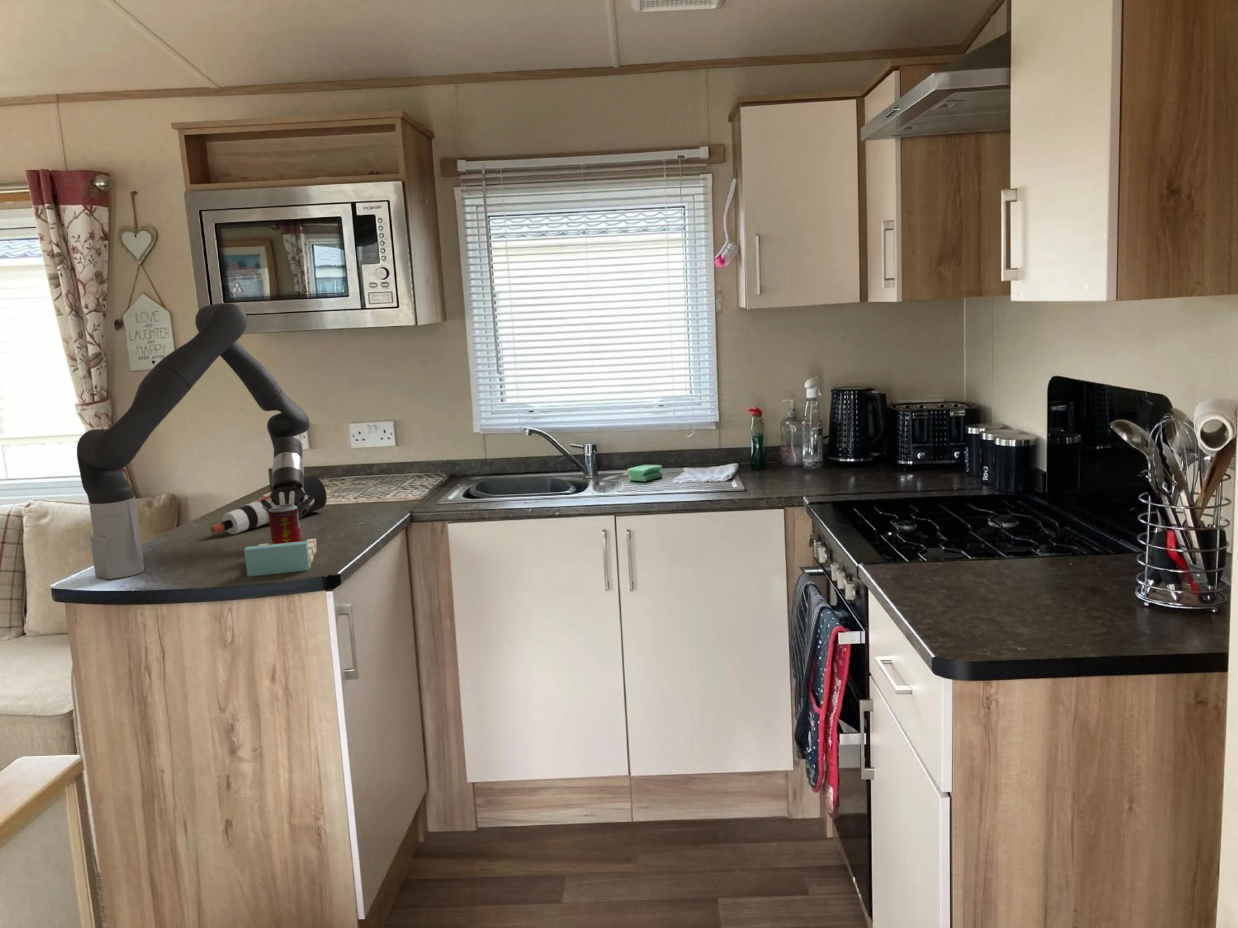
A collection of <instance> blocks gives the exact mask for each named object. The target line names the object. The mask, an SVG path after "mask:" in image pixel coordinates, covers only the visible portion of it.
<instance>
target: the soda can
mask: <svg viewBox="0 0 1238 928" xmlns="http://www.w3.org/2000/svg"><path fill="white" fill-rule="evenodd" d="M268 514H269V521H270V523H269V528H270V529H269V530H270V537H271V544H281V543H291V542H301V541H302V535H301V534H302V533H301V525H300V518H299V515H298V508H297V506H295V505H293V504H282V505H277V506H273V507H272V508H271V509H269V511H268Z"/></svg>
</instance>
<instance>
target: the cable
mask: <svg viewBox="0 0 1238 928" xmlns="http://www.w3.org/2000/svg"><path fill="white" fill-rule="evenodd" d="M304 491H305V493H306V495H308V496H313V498H314V504H313V506H312V507H311V508H310V509H309V510H308V511H307V512H306V513H305V514H304V516H306V515H308V514H311V513H313V512H315V511H318V510H320V509H323V508H324V507H325V506H326V504H327V496H328V495H327V491H326V488H325V485H324V484H323V482H322V481H321V480H320V478H318V477H316V476H315V475H313V474H311V475H307V476H304ZM269 498H270V495H267V496H264V497H262V498H259V499H256V500H254V501H253V502H251V503H248V504H244V506H243V505H242V506H241V507H237V508H236V509H233V510H231V511H228V512H225V513H224V514H223V516H222V521H221V522H220V523H218V524H217V523H216V524H214V525H212V526H210V527H209V529H210V533H212V534H213V535H215V534H219V533H221V532H227V533H229V534H230V535H236V534H239V533H242V532H244V531H245V532H246V531H249V530H251V529H254V528H257V527H260V526H264V525H268V524H270V521H269V514H268V512H267V511H266V510H264V509H263V506H262V503H261V501H262V500H267V499H269ZM303 502H304V501H302V502H301V504H302V503H303ZM301 504H300V505H301ZM272 505H273V506H276V505H275V504H274V503H273V502H272ZM300 505H299V506H298V507H297V508H299V507H300Z"/></svg>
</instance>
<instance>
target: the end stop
mask: <svg viewBox="0 0 1238 928" xmlns="http://www.w3.org/2000/svg"><path fill="white" fill-rule="evenodd" d="M244 559H245V560H244V561H245V568H246V575H247V577H257V576H267V575H276V574H285V573H295V572H303V571H304V572H305V571H310V568H311V566H309V552H308V542H307V540H303V541H302V540H301V542H291V543H281V544H272V543H271V544H268V545H261V546H259V545H253V546H246V547H245V548H244Z"/></svg>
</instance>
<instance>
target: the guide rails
mask: <svg viewBox="0 0 1238 928" xmlns="http://www.w3.org/2000/svg"><path fill="white" fill-rule="evenodd" d="M306 541H307V542H308V552H309V566H310V567H311V565H312V563H313V560H314V558H315V555H316V552H317V550H318V549H317V548H318V546H317V539H316V538H310V539H306ZM261 545H269V543H259V545H258V546H261Z"/></svg>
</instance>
